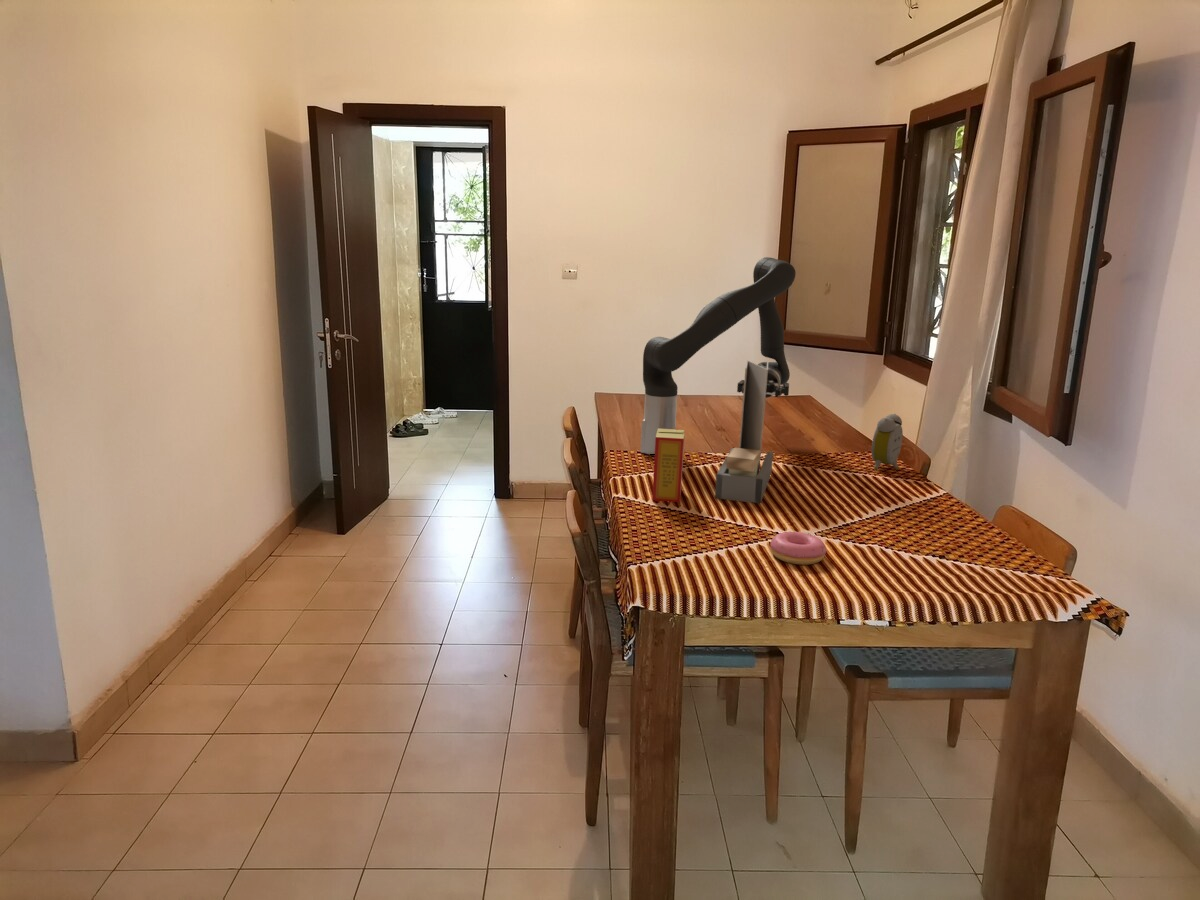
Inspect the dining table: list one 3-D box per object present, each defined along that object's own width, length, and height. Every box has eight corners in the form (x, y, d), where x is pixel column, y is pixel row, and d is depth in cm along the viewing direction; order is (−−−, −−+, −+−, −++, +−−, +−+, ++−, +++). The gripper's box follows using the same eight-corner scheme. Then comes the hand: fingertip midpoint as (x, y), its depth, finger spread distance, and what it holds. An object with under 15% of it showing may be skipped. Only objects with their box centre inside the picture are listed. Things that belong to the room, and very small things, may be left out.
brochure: (758, 486, 209) (768, 369, 202) (736, 484, 210) (745, 368, 203) (759, 471, 223) (768, 361, 215) (738, 469, 224) (747, 360, 216)
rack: (714, 498, 198) (716, 474, 197) (730, 469, 223) (732, 448, 222) (760, 503, 195) (762, 479, 194) (771, 473, 220) (773, 452, 219)
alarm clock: (880, 462, 236) (887, 411, 232) (905, 466, 232) (911, 414, 229) (868, 470, 227) (874, 417, 223) (892, 475, 223) (899, 421, 219)
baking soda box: (679, 502, 194) (683, 437, 190) (652, 501, 195) (655, 435, 191) (681, 491, 203) (684, 428, 199) (654, 489, 204) (658, 426, 200)
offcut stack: (724, 496, 200) (726, 457, 197) (729, 485, 209) (732, 447, 207) (753, 500, 198) (757, 460, 195) (758, 488, 207) (761, 450, 205)
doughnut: (816, 547, 169) (818, 528, 168) (832, 568, 159) (834, 548, 158) (763, 546, 169) (765, 527, 168) (776, 567, 158) (778, 547, 157)
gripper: (743, 368, 241) (735, 377, 226) (792, 371, 237) (788, 380, 222) (741, 393, 243) (734, 403, 228) (790, 396, 239) (786, 407, 224)
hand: (760, 392), depth 225 cm, fingers open, 8 cm apart
